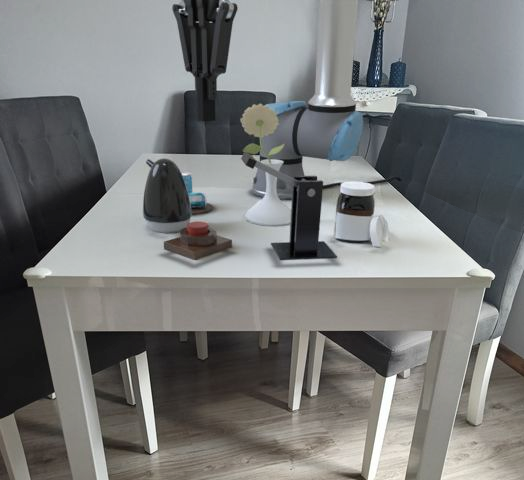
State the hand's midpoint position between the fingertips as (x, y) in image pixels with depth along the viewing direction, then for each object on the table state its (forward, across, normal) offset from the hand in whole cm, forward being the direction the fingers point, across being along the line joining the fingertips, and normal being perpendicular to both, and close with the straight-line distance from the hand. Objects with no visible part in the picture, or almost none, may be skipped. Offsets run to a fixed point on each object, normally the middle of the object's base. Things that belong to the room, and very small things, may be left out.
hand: (206, 120), depth 89 cm
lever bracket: (+24, +13, +13) cm, 30 cm away
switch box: (+24, -2, -1) cm, 24 cm away
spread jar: (+24, +16, +28) cm, 40 cm away
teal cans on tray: (+24, -29, +18) cm, 42 cm away
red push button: (+20, -2, -1) cm, 20 cm away
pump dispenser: (+24, -17, +3) cm, 30 cm away
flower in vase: (+24, -7, +23) cm, 34 cm away
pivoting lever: (+10, +9, +8) cm, 16 cm away
